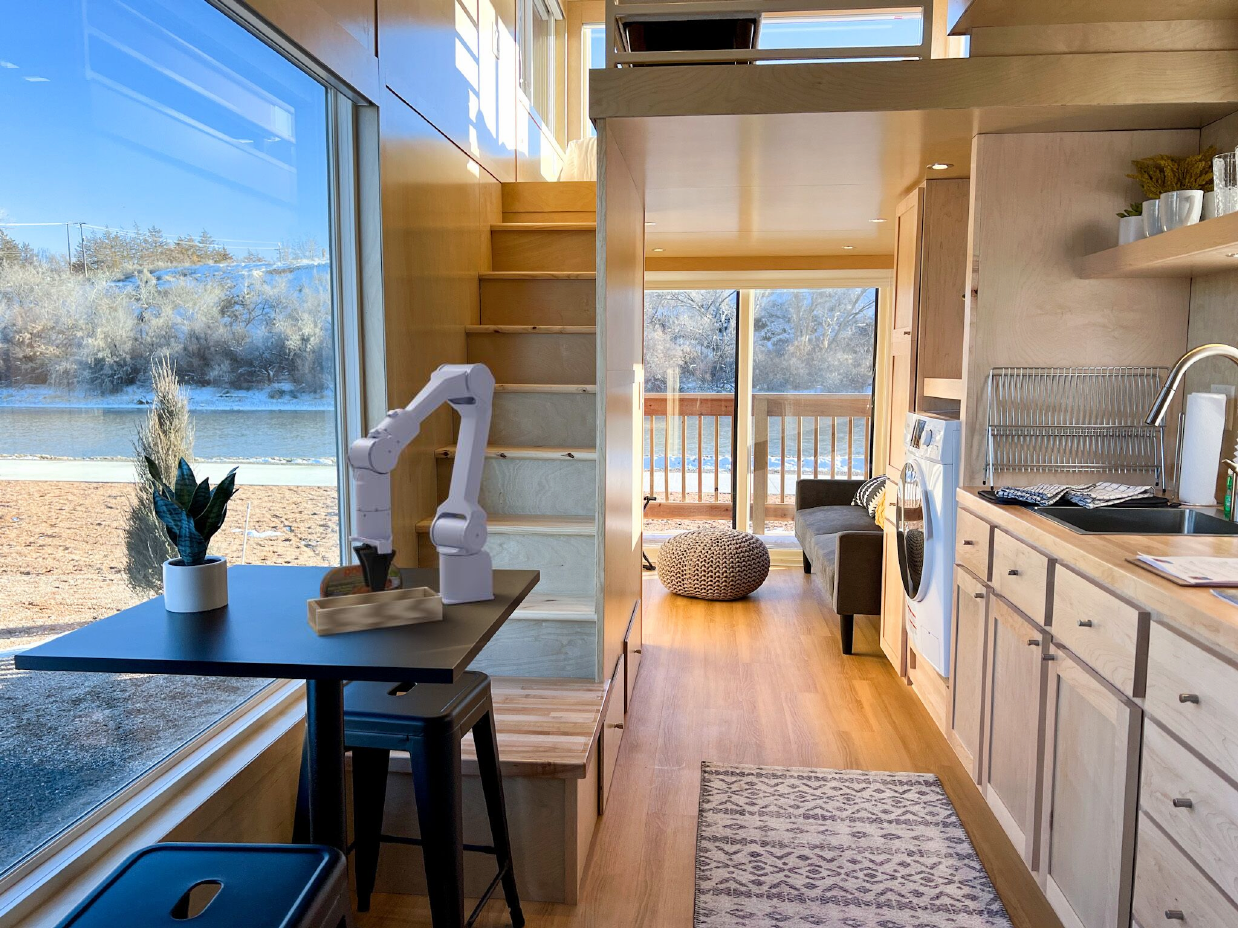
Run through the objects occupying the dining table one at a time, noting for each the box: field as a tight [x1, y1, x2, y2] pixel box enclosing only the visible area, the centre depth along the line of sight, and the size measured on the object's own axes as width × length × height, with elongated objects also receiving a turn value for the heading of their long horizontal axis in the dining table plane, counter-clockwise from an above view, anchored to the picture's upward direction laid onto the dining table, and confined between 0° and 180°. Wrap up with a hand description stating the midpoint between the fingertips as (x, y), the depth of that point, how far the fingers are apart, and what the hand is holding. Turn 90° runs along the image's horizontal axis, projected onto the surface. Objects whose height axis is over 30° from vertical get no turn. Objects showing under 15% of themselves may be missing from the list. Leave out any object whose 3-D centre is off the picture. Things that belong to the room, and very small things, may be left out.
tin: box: [319, 562, 404, 598], centre depth 160 cm, size 15×3×8 cm, turn 132°
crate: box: [306, 586, 443, 636], centre depth 152 cm, size 21×9×4 cm, turn 119°
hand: (374, 588), depth 151 cm, fingers open, 3 cm apart
